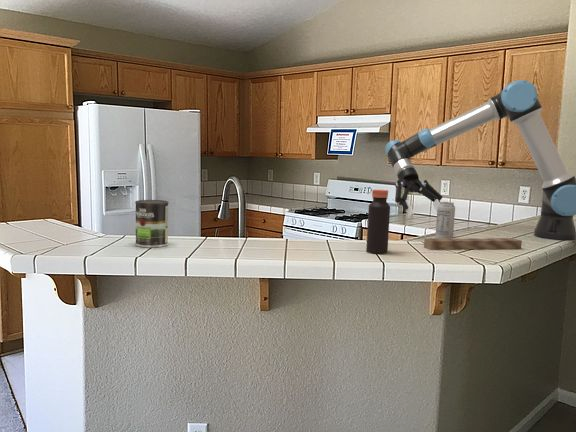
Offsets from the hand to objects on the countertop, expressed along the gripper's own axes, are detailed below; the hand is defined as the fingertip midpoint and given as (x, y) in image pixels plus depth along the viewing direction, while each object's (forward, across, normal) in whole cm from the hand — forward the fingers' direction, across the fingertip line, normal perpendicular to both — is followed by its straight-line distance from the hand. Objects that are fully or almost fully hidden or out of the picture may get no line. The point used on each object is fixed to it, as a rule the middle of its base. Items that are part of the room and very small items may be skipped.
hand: (427, 215), depth 192 cm
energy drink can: (+14, 0, +1) cm, 14 cm away
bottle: (+19, +32, +6) cm, 38 cm away
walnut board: (+20, -6, +7) cm, 22 cm away
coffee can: (-1, +99, -13) cm, 100 cm away
